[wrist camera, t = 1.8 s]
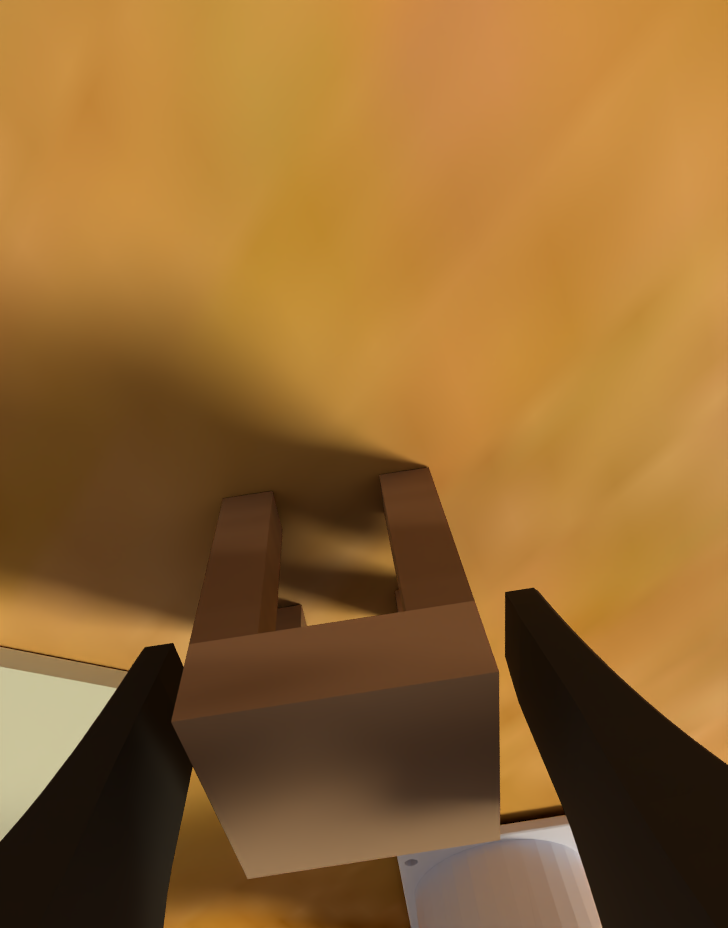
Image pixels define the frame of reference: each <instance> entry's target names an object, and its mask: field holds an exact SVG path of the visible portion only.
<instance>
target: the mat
mask: <svg viewBox="0 0 728 928" xmlns="http://www.w3.org/2000/svg"><path fill="white" fill-rule="evenodd" d="M127 673H128V672H127V671H122V670H117V669H112V668H106V667H101V666H96V665H91V664H86V663H81V662H76V661H70V660H65V659H60V658H55V657H50V656H45V655H39V654H34V653H29V652H24V651H19V650H14V649H9V648H3V647H0V841H1V840H2V839H3V838H4V837H5V835H6V834H7V833H8V832H9V831H10V830H11V828H12V827H13V826H14V825H15V824H16V823H17V822H18V820H19V819H20V818H21V817H22V816H23V814H24V813H25V812H26V811H27V810H28V808H29V807H30V806H31V805H32V803H33V802H34V801H35V800H36V799H37V797H38V796H39V795H40V794H41V792H42V791H43V790H44V789H45V787H46V786H47V785H48V783H49V782H50V781H51V779H52V778H53V777H54V776H55V774H56V773H57V772H58V770H59V769H60V768H61V766H62V765H63V764H64V762H65V761H66V760H67V759H68V757H69V756H70V755H71V753H72V752H73V751H74V749H75V748H76V746H77V745H78V744H79V742H80V741H81V740H82V738H83V737H84V735H85V734H86V732H87V731H88V730H89V728H90V727H91V725H92V724H93V723H94V721H95V720H96V718H97V717H98V715H99V714H100V713H101V711H102V710H103V708H104V707H105V705H106V704H107V702H108V701H109V699H110V698H111V696H112V695H113V694H114V692H115V691H116V689H117V688H118V686H119V685H120V683H121V682H122V680H123V679H124V677H125V676H126V674H127Z"/></svg>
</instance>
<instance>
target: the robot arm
mask: <svg viewBox="0 0 728 928" xmlns="http://www.w3.org/2000/svg"><path fill="white" fill-rule="evenodd" d="M505 658H506V661H507V665H508V668H509V671H510V675H511V678H512V682H513V685H514V688H515V692H516V695H517V698H518V701H519V704H520V706H521V709H522V711H523V714H524V716H525V719H526V721H527V723H528V726H529V728H530V731H531V733H532V735H533V738H534V740H535V743H536V745H537V747H538V750H539V752H540V754H541V757H542V759H543V762H544V764H545V766H546V769H547V771H548V773H549V776H550V778H551V780H552V783H553V785H554V788H555V790H556V792H557V795H558V797H559V799H560V802H561V804H562V807H563V809H564V812H565V815H562V816H555V817H549V818H542V819H536V820H529V821H523V822H516V823H510V824H503V825H500V840H498V841H492V842H485V843H479V844H472V845H466V846H459V847H453V848H446V849H440V850H433V851H427V852H420V853H414V854H407V855H401V856H397V859H398V864H399V869H400V874H401V879H402V884H403V889H404V895H405V900H406V905H407V910H408V915H409V920H410V925H411V928H728V765H727V764H726V763H724V762H723V761H722V760H720V759H719V758H718V757H716V756H715V755H714V754H712V753H711V752H710V751H708V750H707V749H706V748H704V747H703V746H702V745H700V744H699V743H698V742H696V741H695V740H694V739H692V738H691V737H690V736H688V735H687V734H686V733H685V732H683V731H682V730H681V729H680V728H678V727H677V726H676V725H675V724H673V723H672V722H671V721H670V720H668V719H667V718H666V717H665V716H664V715H662V714H661V713H660V712H659V711H658V710H656V709H655V708H654V707H653V706H652V705H651V704H649V703H648V702H647V701H646V700H645V699H644V698H643V697H641V696H640V695H639V694H638V693H637V692H636V691H635V690H634V689H632V688H631V687H630V686H629V685H628V684H627V683H626V682H625V681H624V680H623V679H621V678H620V677H619V676H618V675H617V674H616V673H615V672H614V671H613V670H612V669H611V668H610V667H609V666H608V665H607V664H606V663H605V662H604V661H603V660H602V659H601V658H600V657H599V656H598V655H597V654H596V653H595V652H594V651H593V650H592V649H591V648H590V647H589V646H588V645H587V644H586V643H585V642H584V641H583V640H582V639H581V638H580V637H579V636H578V635H577V634H576V633H575V632H574V631H573V630H572V629H571V628H570V627H569V625H568V624H567V623H566V622H565V621H564V620H563V619H562V618H561V617H560V616H559V615H558V613H557V612H556V611H555V610H554V609H553V608H552V607H551V605H550V604H549V603H548V602H547V601H546V600H545V599H544V597H543V596H542V595H541V594H540V593H539V591H537V590H536V589H534V588H529V589H522V590H516V591H509V592H505ZM183 668H184V667H183V665H182V662H181V660H180V658H179V655H178V653H177V651H176V649H175V646H174V644H173V643H170V644H163V645H157V646H150V647H145V648H144V649H143V651H142V652H141V653H140V655H139V656H138V658H137V659H136V661H135V662H134V664H133V665H132V667H131V668H130V670H129V671H128V673H127V674H126V676H125V677H124V679H123V680H122V682H121V683H120V685H119V686H118V688H117V689H116V691H115V692H114V694H113V695H112V696H111V698H110V699H109V701H108V702H107V704H106V705H105V707H104V708H103V710H102V711H101V713H100V714H99V715H98V717H97V718H96V720H95V721H94V723H93V724H92V725H91V727H90V728H89V730H88V731H87V732H86V734H85V735H84V737H83V738H82V740H81V741H80V742H79V744H78V745H77V746H76V748H75V749H74V751H73V752H72V753H71V755H70V756H69V757H68V759H67V760H66V761H65V762H64V764H63V765H62V766H61V768H60V769H59V770H58V772H57V773H56V774H55V776H54V777H53V778H52V779H51V781H50V782H49V783H48V785H47V786H46V787H45V789H44V790H43V791H42V792H41V794H40V795H39V796H38V797H37V799H36V800H35V801H34V802H33V803H32V805H31V806H30V807H29V808H28V810H27V811H26V812H25V813H24V814H23V816H22V817H21V818H20V819H19V820H18V822H17V823H16V824H15V825H14V826H13V827H12V828H11V830H10V831H9V832H8V833H7V834H6V835H5V837H4V838H3V839H2V840H1V841H0V928H163V926H164V918H165V909H166V901H167V892H168V887H169V881H170V875H171V869H172V864H173V859H174V854H175V849H176V844H177V840H178V835H179V830H180V825H181V821H182V816H183V811H184V806H185V801H186V797H187V792H188V787H189V782H190V777H191V772H192V767H193V766H192V764H191V762H190V760H189V758H188V756H187V753H186V751H185V749H184V747H183V745H182V743H181V741H180V739H179V737H178V735H177V733H176V731H175V729H174V727H173V725H172V723H171V720H172V716H173V711H174V707H175V703H176V698H177V694H178V690H179V686H180V681H181V677H182V673H183Z"/></svg>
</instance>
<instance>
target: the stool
mask: <svg viewBox="0 0 728 928" xmlns="http://www.w3.org/2000/svg"><path fill="white" fill-rule="evenodd" d="M379 476H380V484H381V491H382V499H383V506H384V513H385V519H386V524H387V530H388V535H389V540H390V545H391V551H392V556H393V561H394V566H395V572H396V577H397V582H398V587H399V590H396V591H395V595H396V603H397V610H398V612H397V613H391V614H384V615H378V616H371V617H364V618H358V619H351V620H345V621H338V622H332V623H325V624H319V625H312V626H307V625H306V621H305V617H304V613H303V609H302V605H297V606H291V607H284V608H277V602H278V588H279V573H280V559H281V544H282V527H281V523H280V519H279V515H278V511H277V507H276V503H275V499H274V495H273V491H269V492H263V493H256V494H250V495H243V496H236V497H230V498H223V501H222V506H221V510H220V514H219V518H218V523H217V527H216V531H215V536H214V540H213V544H212V548H211V553H210V557H209V561H208V566H207V570H206V574H205V578H204V583H203V587H202V591H201V596H200V600H199V604H198V608H197V613H196V617H195V621H194V626H193V630H192V634H191V638H190V643H189V647H188V651H187V656H186V660H185V664H184V668H183V673H182V677H181V681H180V686H179V690H178V694H177V698H176V703H175V707H174V711H173V716H172V720H171V723H172V725H173V727H174V729H175V731H176V733H177V735H178V737H179V739H180V741H181V743H182V745H183V747H184V749H185V751H186V753H187V756H188V758H189V760H190V762H191V764H192V766H193V768H194V770H195V772H196V774H197V776H198V778H199V780H200V782H201V784H202V786H203V788H204V790H205V792H206V794H207V797H208V799H209V801H210V803H211V805H212V807H213V809H214V811H215V813H216V815H217V817H218V819H219V821H220V823H221V825H222V827H223V829H224V831H225V833H226V835H227V837H228V840H229V842H230V844H231V846H232V848H233V850H234V852H235V854H236V856H237V858H238V860H239V862H240V864H241V866H242V868H243V870H244V872H245V874H246V876H247V878H248V879H251V878H258V877H264V876H271V875H277V874H284V873H290V872H297V871H303V870H310V869H316V868H323V867H329V866H336V865H342V864H349V863H355V862H362V861H368V860H375V859H381V858H388V857H394V856H401V855H407V854H414V853H420V852H427V851H433V850H440V849H446V848H453V847H459V846H466V845H472V844H479V843H485V842H492V841H498V840H500V747H499V670H498V667H497V665H496V662H495V659H494V656H493V653H492V650H491V647H490V644H489V641H488V638H487V636H486V633H485V630H484V627H483V624H482V621H481V618H480V615H479V612H478V609H477V606H476V604H475V601H474V598H473V595H472V592H471V589H470V586H469V583H468V580H467V577H466V575H465V572H464V569H463V566H462V563H461V560H460V557H459V554H458V551H457V548H456V546H455V543H454V540H453V537H452V534H451V531H450V528H449V525H448V522H447V519H446V517H445V514H444V511H443V508H442V505H441V502H440V499H439V496H438V493H437V490H436V487H435V485H434V482H433V479H432V476H431V473H430V470H429V467H428V468H421V469H414V470H408V471H401V472H395V473H388V474H381V475H379Z"/></svg>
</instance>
